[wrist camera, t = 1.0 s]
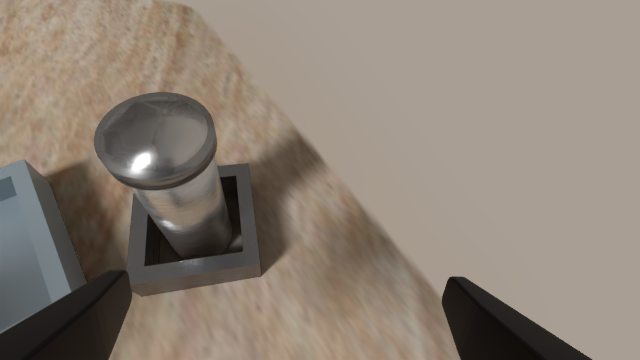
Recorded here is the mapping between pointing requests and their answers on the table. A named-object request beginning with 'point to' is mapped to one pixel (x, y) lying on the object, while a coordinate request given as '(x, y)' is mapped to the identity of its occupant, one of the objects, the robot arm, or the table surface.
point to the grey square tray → (201, 271)
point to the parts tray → (32, 246)
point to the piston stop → (169, 168)
